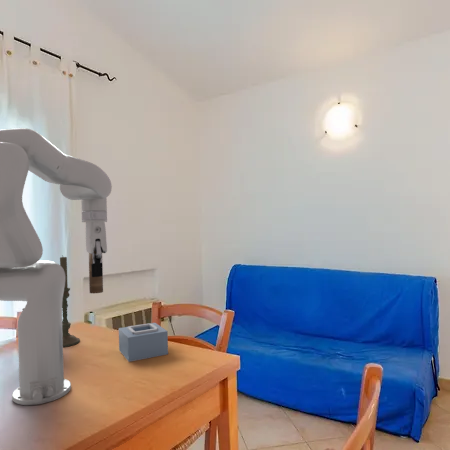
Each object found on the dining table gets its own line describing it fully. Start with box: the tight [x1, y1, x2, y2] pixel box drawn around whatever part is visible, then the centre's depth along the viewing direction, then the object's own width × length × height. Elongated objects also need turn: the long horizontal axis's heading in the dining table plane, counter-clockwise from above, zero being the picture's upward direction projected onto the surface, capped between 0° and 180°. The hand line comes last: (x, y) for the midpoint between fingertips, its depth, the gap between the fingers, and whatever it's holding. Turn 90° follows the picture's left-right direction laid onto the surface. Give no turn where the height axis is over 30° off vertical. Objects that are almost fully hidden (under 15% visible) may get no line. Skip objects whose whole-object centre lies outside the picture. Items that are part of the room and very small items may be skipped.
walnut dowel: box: [88, 247, 104, 294], centre depth 120 cm, size 4×4×14 cm
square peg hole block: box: [118, 322, 169, 363], centre depth 119 cm, size 12×12×8 cm
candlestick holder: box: [59, 255, 81, 348], centre depth 130 cm, size 9×9×30 cm
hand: (95, 275), depth 120 cm, fingers closed on walnut dowel, 4 cm apart
